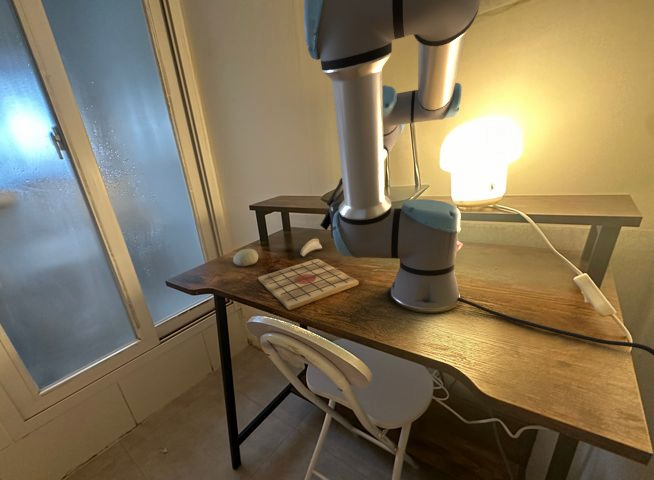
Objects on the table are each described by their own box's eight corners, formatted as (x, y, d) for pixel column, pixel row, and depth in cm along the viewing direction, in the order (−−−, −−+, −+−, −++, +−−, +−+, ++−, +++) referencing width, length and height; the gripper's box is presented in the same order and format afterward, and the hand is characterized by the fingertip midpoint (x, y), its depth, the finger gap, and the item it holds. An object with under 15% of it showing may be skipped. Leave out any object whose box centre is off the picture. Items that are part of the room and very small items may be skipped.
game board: (358, 284, 85) (358, 280, 84) (289, 310, 78) (288, 306, 77) (317, 261, 103) (317, 258, 103) (258, 280, 96) (258, 276, 96)
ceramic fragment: (317, 243, 119) (317, 233, 118) (329, 244, 116) (328, 234, 115) (298, 256, 110) (297, 247, 108) (311, 258, 107) (310, 248, 105)
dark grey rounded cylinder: (351, 236, 93) (350, 200, 88) (337, 240, 91) (335, 204, 87) (341, 232, 98) (339, 198, 93) (327, 236, 96) (325, 201, 91)
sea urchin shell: (226, 260, 110) (236, 241, 111) (241, 269, 116) (250, 250, 117) (241, 265, 104) (251, 245, 105) (256, 274, 109) (265, 254, 110)
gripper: (399, 171, 86) (357, 241, 86) (354, 170, 101) (318, 230, 101) (386, 154, 82) (342, 228, 82) (341, 155, 96) (304, 218, 97)
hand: (329, 229), depth 92 cm, fingers closed on dark grey rounded cylinder, 5 cm apart
